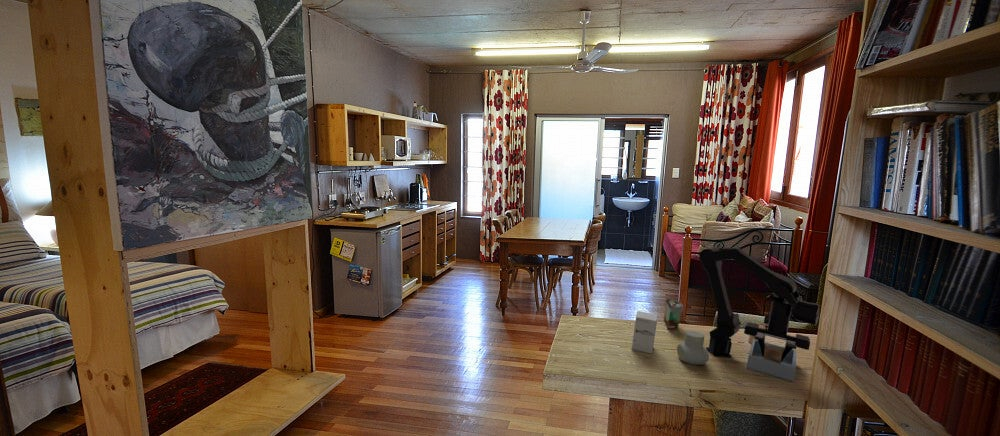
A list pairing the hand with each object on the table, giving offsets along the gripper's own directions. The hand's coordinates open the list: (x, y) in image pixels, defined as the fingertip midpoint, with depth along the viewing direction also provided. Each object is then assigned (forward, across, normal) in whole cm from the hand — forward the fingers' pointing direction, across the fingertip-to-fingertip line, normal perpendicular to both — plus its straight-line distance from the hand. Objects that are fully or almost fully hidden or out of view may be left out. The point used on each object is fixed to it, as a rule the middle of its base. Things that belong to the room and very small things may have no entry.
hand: (772, 359), depth 153 cm
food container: (+5, +36, -18) cm, 41 cm away
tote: (+4, 0, -4) cm, 6 cm away
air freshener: (+5, +23, +11) cm, 26 cm away
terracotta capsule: (+4, +6, -24) cm, 25 cm away
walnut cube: (+1, 0, 0) cm, 1 cm away
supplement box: (+5, +40, +13) cm, 42 cm away
